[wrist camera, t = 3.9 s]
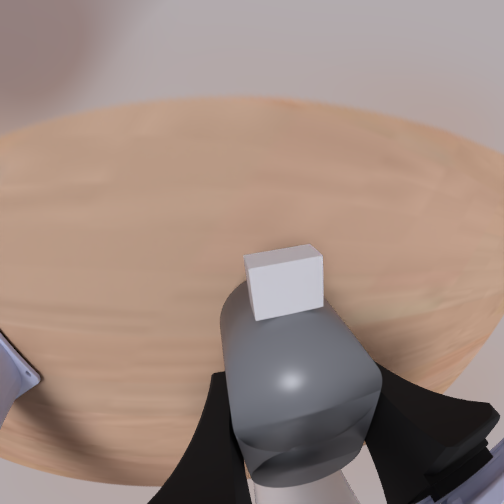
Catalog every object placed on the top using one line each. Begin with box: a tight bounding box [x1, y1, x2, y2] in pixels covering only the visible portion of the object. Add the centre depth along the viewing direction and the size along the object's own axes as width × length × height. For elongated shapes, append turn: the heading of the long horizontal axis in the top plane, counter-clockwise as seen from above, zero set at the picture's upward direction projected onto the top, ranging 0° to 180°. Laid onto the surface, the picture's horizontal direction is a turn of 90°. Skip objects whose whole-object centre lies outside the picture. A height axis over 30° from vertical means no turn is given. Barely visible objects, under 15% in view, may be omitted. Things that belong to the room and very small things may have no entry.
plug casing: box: [220, 244, 382, 488], centre depth 9 cm, size 10×4×5 cm, turn 7°
